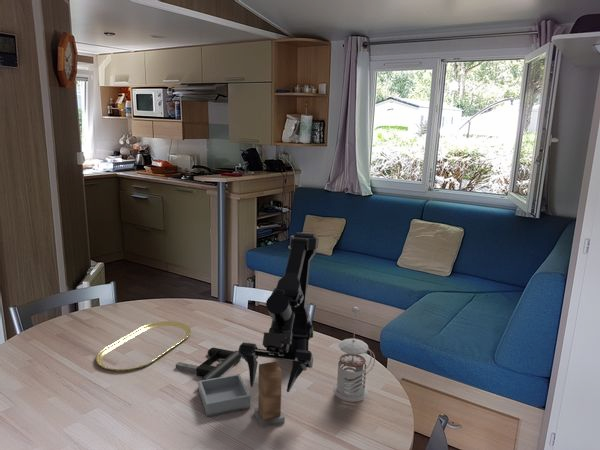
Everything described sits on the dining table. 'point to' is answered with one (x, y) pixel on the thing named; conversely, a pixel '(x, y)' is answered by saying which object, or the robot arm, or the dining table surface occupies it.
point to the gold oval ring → (134, 334)
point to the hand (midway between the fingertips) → (269, 389)
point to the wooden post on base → (269, 395)
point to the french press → (349, 381)
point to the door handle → (205, 368)
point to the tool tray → (224, 395)
